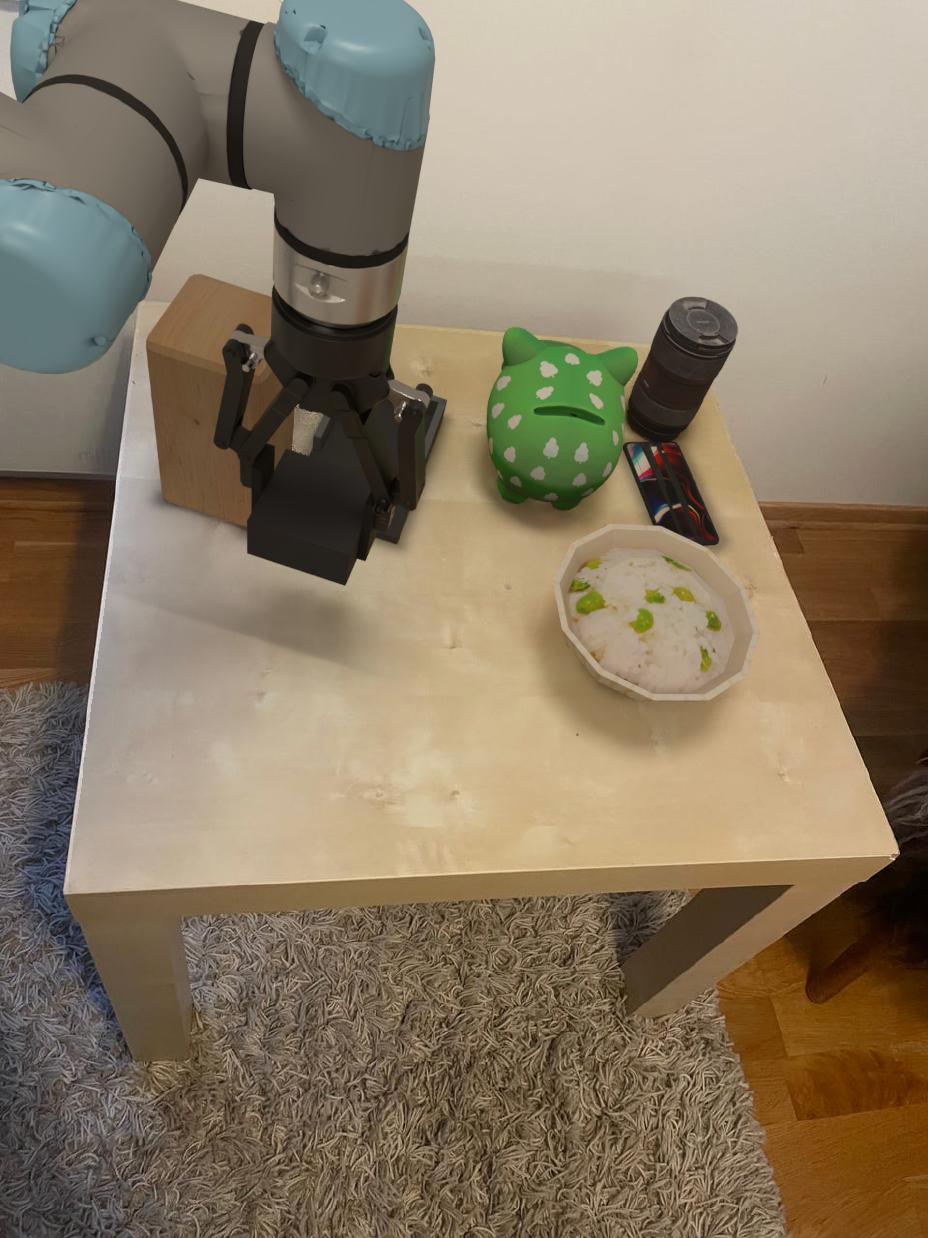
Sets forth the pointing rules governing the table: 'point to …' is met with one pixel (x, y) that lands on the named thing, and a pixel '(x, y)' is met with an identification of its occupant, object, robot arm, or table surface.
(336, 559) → the foam pad
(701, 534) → the smartphone
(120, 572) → the table surface
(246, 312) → the wooden block
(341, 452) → the black tray
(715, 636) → the bowl
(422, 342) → the table surface
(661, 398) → the camera lens
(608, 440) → the piggy bank
